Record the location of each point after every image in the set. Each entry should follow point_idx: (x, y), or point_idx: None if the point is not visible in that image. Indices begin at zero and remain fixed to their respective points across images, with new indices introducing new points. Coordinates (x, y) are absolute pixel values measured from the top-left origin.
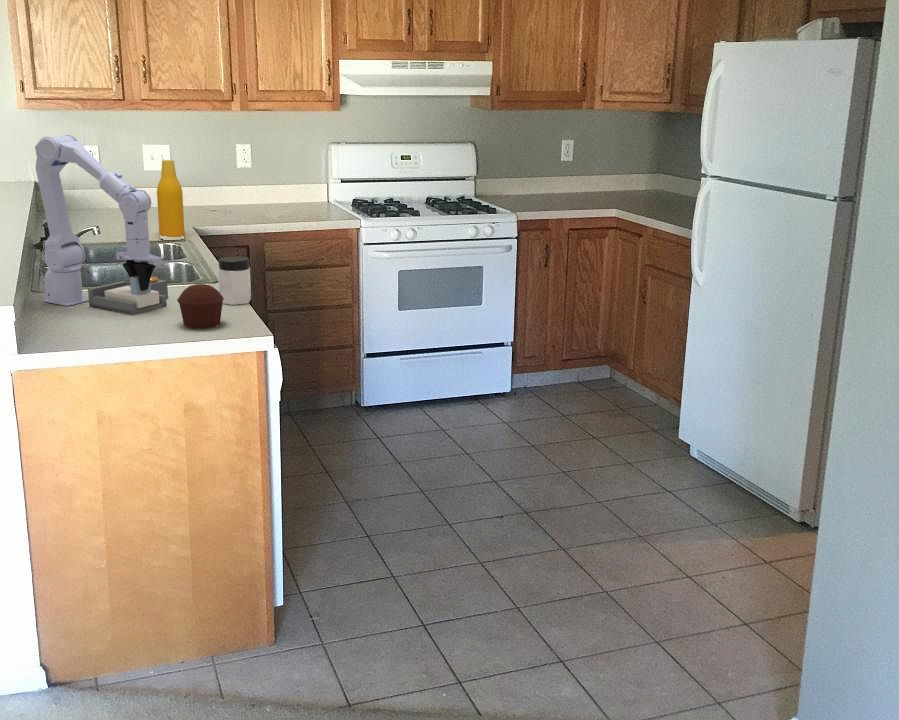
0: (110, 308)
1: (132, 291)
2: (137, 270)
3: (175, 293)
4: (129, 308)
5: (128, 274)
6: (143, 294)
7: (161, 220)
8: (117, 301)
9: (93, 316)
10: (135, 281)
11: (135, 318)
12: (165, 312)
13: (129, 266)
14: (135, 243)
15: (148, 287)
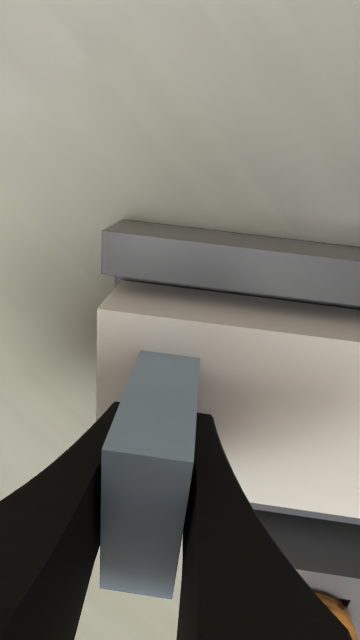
0: (320, 245)
1: (182, 367)
2: (27, 546)
3: None
4: (138, 228)
5: (250, 513)
6: (109, 380)
7: None
8: (256, 249)
9: (340, 48)
10: (118, 422)
11: (50, 162)
12: (30, 353)
13: (195, 626)
14: None
15: None
